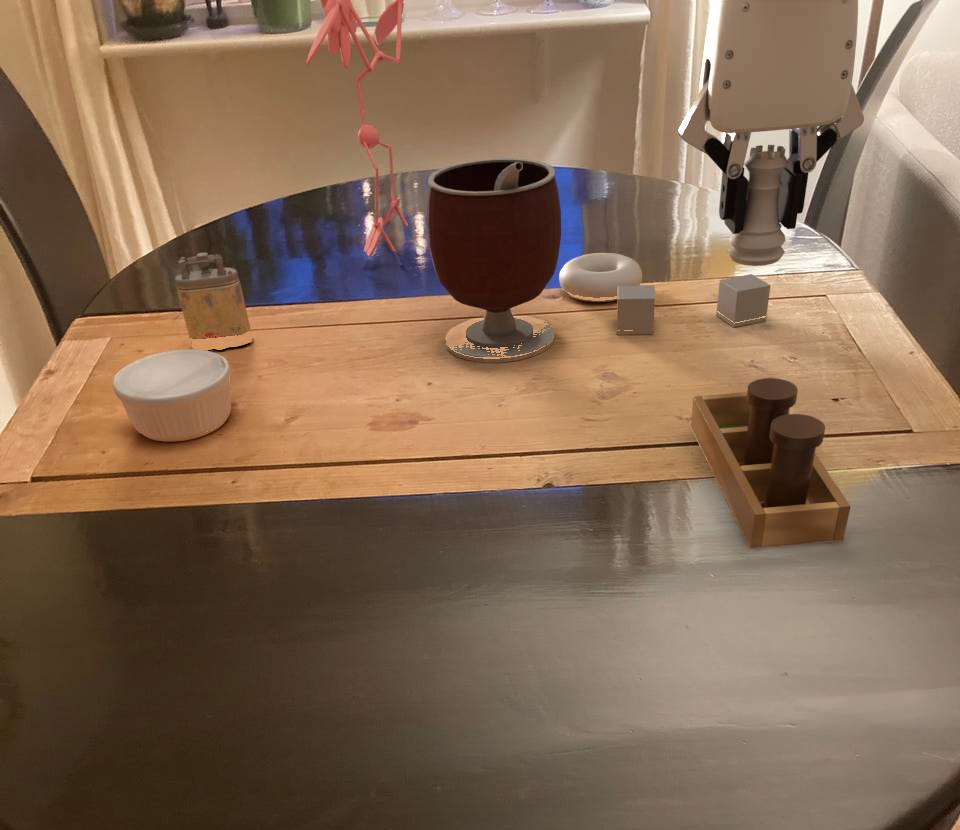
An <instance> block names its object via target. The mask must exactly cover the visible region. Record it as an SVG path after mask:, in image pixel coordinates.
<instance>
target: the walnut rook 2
mask: <svg viewBox="0 0 960 830" xmlns="http://www.w3.org/2000/svg"><path fill="white" fill-rule="evenodd" d="M825 432H826V425H825V424H824V422H822V421H821V420H820V419H819V418H817V417H814V416H811V415H808V414H801V413H789V414H788V415H783V416H779V417H777V418H775V419H774V420H773V421H772V423H771V428H770V435H769V437H770V440H771V441H772V442H773V443H774V446H773V452H772V459H771V466H770V472H769V479H768V486H767V493H766V499H765V502H763V503H762V504H761V506H762V508H769V507H781V506H792V505H804V504H806V500H807V494H808V488H809V483H810V477H811V472H812V466H813V461H814V455H815V454H816V449H817V448H818V447H820V446H821V445H822V444H823V441H824V438H825Z"/></svg>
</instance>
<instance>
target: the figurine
mask: <svg viewBox="0 0 960 830" xmlns="http://www.w3.org/2000/svg"><path fill="white" fill-rule="evenodd" d="M320 3H321V7H322V9H323V13H324V20H323V22H322V24H321V25H320V27H319V30H318V31H317V33H316V35H315V37H314V39H313V42H312V45H311V46H310V49H309V53H308V56H307V59H306V64H305V65H307V66H310V64H311V63H312V61H313V59H314V57H315V56H316V54H317V53H318V51H319V50H320V48H321V47H322V45H323V43H324V41H325V40H326V38H327V50H328V52H329V54H330V55H331V56H334V55H335V54H337V52H338V51H340V59H341V63H342V65H343V67H344V68H345V69H347V68H348V67H349V66H350V59H351V49H352V48H351V46H352V45H351V38H352V40H353V42H354V44H355V47H356V48H357V50H358V53H359V55H360V57H361V59H362V61H363V64H364V65H365V68H364V69H363V71H361V72H360V73H359V74H358V75H357V76H356V77H357V79H356V80H355V82H356V83H355V84H356V89H357V96H358V102H359V112H360V117H361V124H362V126H361V127H360V128H359V130H358V132H357V139H358V142H359V145H361V146H362V147H363V148H364V149H365V151H366V153H367V155H368V157H369V159H370V161H371V163H372V166H373V167H374V169H375V172H374V173H375V176H374V178H375V179H374V181H375V182H374V183H375V185H374V186H375V191H374V192H375V193H374V194H375V195H374V196H375V197H374V198H375V199H374V200H375V201H374V203H375V204H374V205H375V206H374V207H375V209H374V210H375V221H374V223H373V225H372V226H371V229H370V230H369V233H368V234H367V238H366V242H365V244H364V246H363V247H364V248H363V252H364V251H365V252H366V253H367V255H368V256H371V257H372V256H373V254H374V253H375V251H376V249H377V247H378V245H379V242H380V239H381V237H382V238H383V239H384V241H385V243H386V245H387V246H388V248H389V249H390V251H391V252H392V251H396V252H397V250H396V248H395V247H394V245H393V243H392V241H391V240H390V238H389V236H388V234H387V232H386V230H385V231H384V230H383V227H384V226H385V225H386V224H387V223H388V222H389V221H390V220H391V221H392V220H393V217H394V215H395V213H397V216H398V217H399V219H400V220H401V222H402V224H403V226H404V227H405V226H408V225H409V223H408V222H407V220H406V218H405V216H404V214H403V212H402V210H401V209H400V207H399V205H400V202H401V198H400V197H398V196H397V197H396V199H395V190H394V188H395V187H394V166H393V149H392V146H390V145H389V144H386V143H384V142H382V141H380V135H379V132H378V130H377V128H376V127H375V126H373V125H371V124H366V119H365V108H364V98H363V89H362V80H363V79H364V78H365V76H367V74H368V73H369V74H371V73H372V72H373V70H374V69H375V66H376V64H378V63H379V62H381V63H382V62H383V61H384V60H385V61H387V62H390V63H393V64H395V65H398V66H399V65H400V64H401V57H402V56H401V54H402V52H401V50H402V19H403V13H404V6H405V3H404V0H393V1H392V2H391V3H390V4H388V5H387V7H386V8H385V10H384V11H383V12H382V13H381V15H380V16H379V19H378V20H377V22H376V24H375V28H374V33H373V34H374V39H375V42H374V40H373V38H372V36H371V35H370V33H369V31H368V30H367V28H366V27H365V24H364V22H363V21H362V19H361V17H360V16H359V14H358V13H357V10H356V9H355V7H354V4H353V3H352V0H320ZM358 26H359V28H360V29H361V31H362V33H363V34H364V36H365V38H366V39H367V41H368V43H369V45H370V46H371V48H372V50H373V51H374V53H375V55H374V56H373V58H372V61H371V62H370V61H369V59H368V57H367V55H366V52H365V50H364V49H363V46H362V45H361V43H360V40H359V38H358V36H357V34H356V33H357V31H358V30H357V29H358ZM395 28H396V50H395V51H396V53H395V57H393V56H390V55H387V54H386V53H384V52H383V51H381V50H379V48H378V47H377V46H380V45H381V43H383V41H385V40H386V38H388V37H389V35H390V34H391V33H392V32H393V31H394V29H395ZM376 44H377V45H376ZM377 145H379V146H382V147H384V148H387V149H388V157H389V174H390V175H389V177H390V192H391V193H390V195H391V202H390V204H389V205H390V207H389V209H388V210H387V212H386V213H385V216H384V217H381V216H379V168H378V166H377V164H376V162H375V159H374V157H373V155H372V153H371V150H370V149H373V148H375V147H376V146H377ZM391 221H390V222H391ZM381 234H382V236H381ZM380 236H381V237H380Z"/></svg>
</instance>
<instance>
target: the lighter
mask: <svg viewBox="0 0 960 830" xmlns="http://www.w3.org/2000/svg"><path fill="white" fill-rule="evenodd" d="M211 264H215V265H216V268H210V267H209V266H210V265H211ZM177 265H178V269H179V270H180V274H178V275H176V276H175V278H174V282H175V285H176V292H177V295H178V299H179V303H180V307H181V311H182V315H183V318H184V322H185V325H186V329H187V334H188V338H189V339H190V338H192V339H206V338H218V337H226V336H235V335H237V336H238V335H242V334H244V333H246V332H248V330H249V329H251V325H250V321H249V316H248V311H247V308H246V302H245V298H244V294H243V289H242V285H241V280H240V279H239V274H238V270H237V269H235V268H233V267H224V259H223V257H222V255H221V254H218V253H216V254H208V252H199V253H197V254H196V256H191V257H187V258H186V257H184V256H182V257H180V258H179V259H178V261H177ZM191 265H193V266H194V265H198V266H199V267H201V270H195V271H193V270H192V271H190V269H189V266H191Z"/></svg>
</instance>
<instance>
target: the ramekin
mask: <svg viewBox="0 0 960 830" xmlns="http://www.w3.org/2000/svg"><path fill="white" fill-rule="evenodd" d="M231 371H232V370H231V367H230V364H229V361H228V360H227V358H225V357H224V356H222V355H221V354H219V353H216V352H214V351H212V350H211V351H206V350H195V349H192V348H189V349H188V348H187V349H175V350H168V351H163V352H159V353H154V354H151V355H147V356H145V357H141V358H139V359H137V360H135V361H133V362H131V363H129V364H127V365H126V366H124V367H122V368H121V369H120V370H119V371H118V372H117V373H116V374H115V375H114V377H113V379H112V387H113V391H114V394H115V396H116V397H117V399H118V400H120V402H121V403H122V405H123V408H124V410H125V412H126V414H127V416H128V418H129V419H130V421H131V423H132V426H133V427H134V428H135V430H136V431H137V432H138V433H139V434H141V435H143V436H144V437H146V438H147V439H150V440H152V441H156V442H164V443H165V442H166V443H175V442H184V441H189V440H194V439H198V438H201V437H204V436H206V435H209V434H211V433H213V432H215V431H216V430H218V429H220V428H221V427H222V426H223V425H224V424H225V423H226V422H227V420H228V419H229V417H230V415H231V411H232V393H231V392H232V391H231V379H230V378H231V375H232V372H231ZM221 423H222V424H221ZM215 427H216V428H215ZM211 429H212V430H211ZM207 431H208V432H207Z"/></svg>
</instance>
